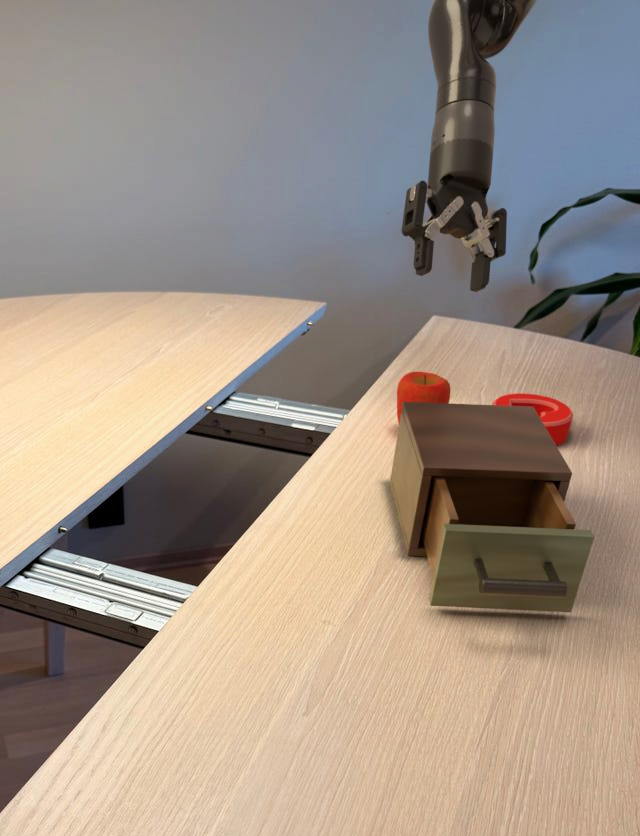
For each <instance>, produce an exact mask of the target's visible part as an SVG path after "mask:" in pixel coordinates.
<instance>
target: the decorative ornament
mask: <svg viewBox="0 0 640 836" xmlns="http://www.w3.org/2000/svg"><path fill="white" fill-rule="evenodd" d="M491 405H503V406H531V407H534V409H535V410H536V412H537V414H538V415H539V417H540V419H541V421H542V422H543V424H544V426H545V427H546V429H547V431H548V432H549V434H550V436H551V438H552V439H553V441H554V443H555V444H556V446H560V445H561V444H563V443H565V442H566V441H567V439H568V437H569V432H570V429H571V425H572V422H573V417H574V413H573V411H572V409H571V408H570V407H569V406H568V405H567V404H566V403H564V402H562V401H561V400H558V399H555V398H553V397H549V396H545V395H541V394H535V393H525V392H524V393H521V392H519V393H508V394H504V395H501V396H499V397H497V398H495V399H494V400H493V401H492V403H491Z"/></svg>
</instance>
